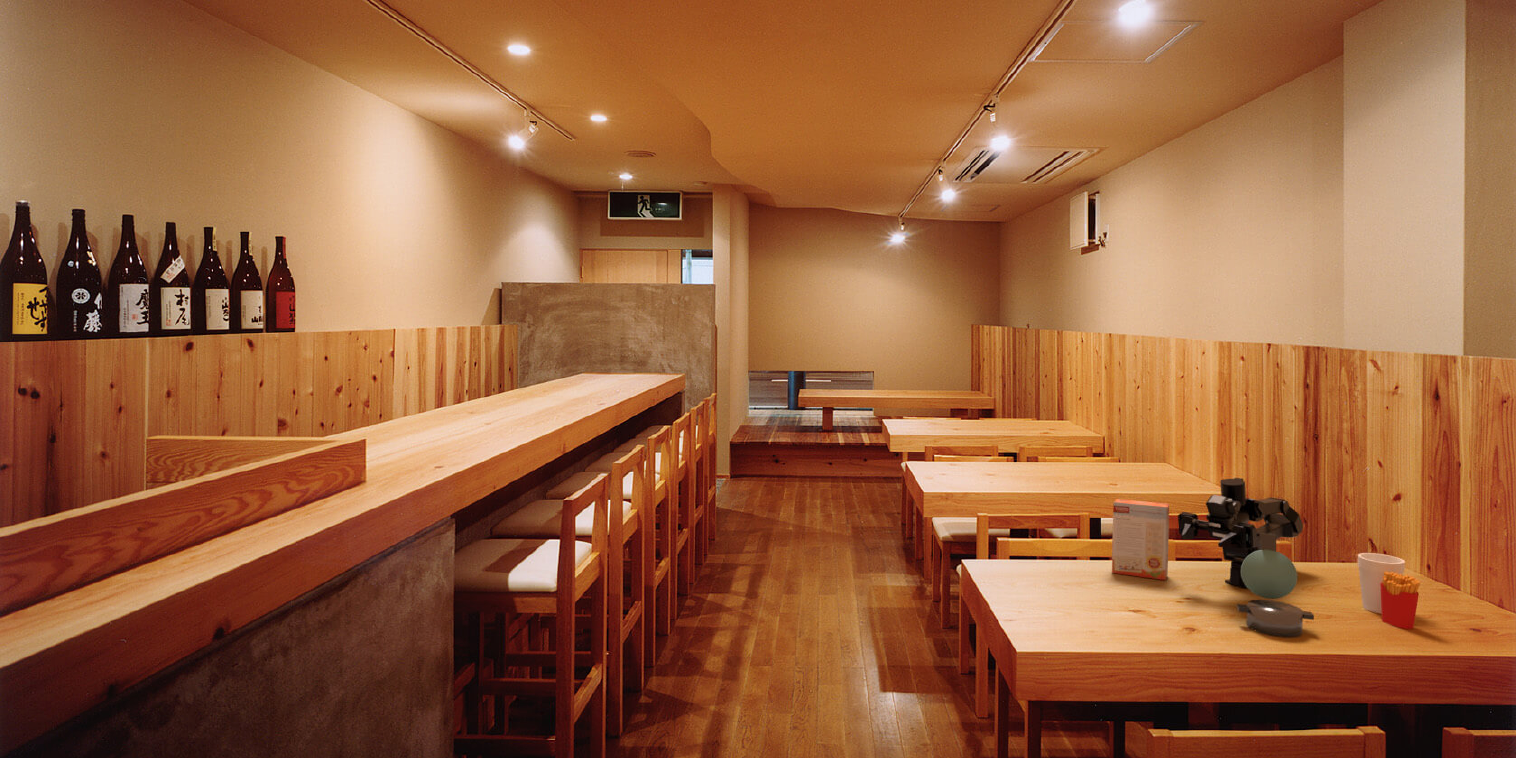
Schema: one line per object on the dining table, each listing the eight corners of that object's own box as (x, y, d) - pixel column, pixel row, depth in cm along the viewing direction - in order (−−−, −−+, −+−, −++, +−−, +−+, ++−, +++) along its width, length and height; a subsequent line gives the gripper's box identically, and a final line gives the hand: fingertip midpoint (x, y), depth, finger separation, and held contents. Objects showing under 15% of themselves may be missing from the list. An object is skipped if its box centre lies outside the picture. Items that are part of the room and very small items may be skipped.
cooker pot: (1232, 615, 198) (1232, 595, 198) (1303, 623, 193) (1304, 602, 193) (1242, 632, 187) (1242, 611, 187) (1318, 641, 182) (1319, 619, 182)
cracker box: (1167, 575, 230) (1170, 502, 228) (1165, 581, 225) (1167, 507, 223) (1114, 567, 237) (1116, 497, 236) (1111, 573, 232) (1113, 501, 231)
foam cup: (1389, 618, 196) (1392, 565, 195) (1347, 606, 204) (1349, 556, 203) (1410, 612, 200) (1412, 560, 200) (1367, 600, 209) (1370, 551, 208)
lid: (1241, 596, 196) (1240, 595, 198) (1297, 601, 192) (1296, 601, 194) (1241, 532, 198) (1240, 532, 199) (1297, 536, 194) (1295, 536, 195)
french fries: (1374, 618, 196) (1377, 569, 195) (1389, 617, 197) (1391, 569, 196) (1408, 631, 188) (1410, 580, 187) (1422, 630, 188) (1425, 579, 188)
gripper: (1192, 486, 222) (1162, 504, 213) (1266, 498, 206) (1237, 518, 198) (1194, 524, 223) (1165, 544, 215) (1268, 539, 208) (1239, 560, 200)
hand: (1200, 540), depth 207 cm, fingers open, 9 cm apart
